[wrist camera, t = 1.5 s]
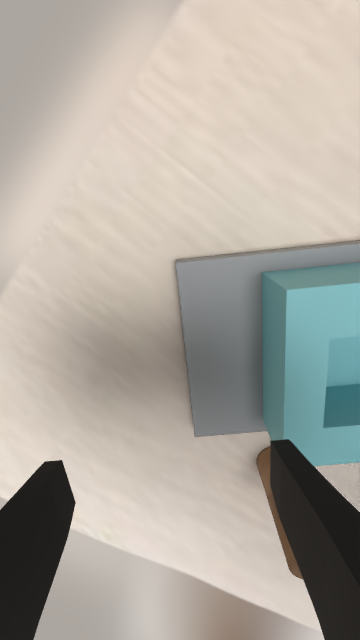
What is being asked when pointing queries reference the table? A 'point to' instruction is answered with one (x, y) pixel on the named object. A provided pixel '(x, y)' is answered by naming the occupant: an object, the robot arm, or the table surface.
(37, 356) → the table surface
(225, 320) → the slate board
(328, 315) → the teal block
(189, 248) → the table surface
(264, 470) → the walnut dowel
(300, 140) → the table surface
